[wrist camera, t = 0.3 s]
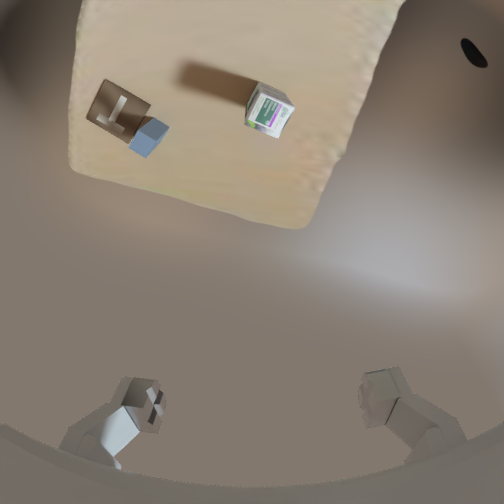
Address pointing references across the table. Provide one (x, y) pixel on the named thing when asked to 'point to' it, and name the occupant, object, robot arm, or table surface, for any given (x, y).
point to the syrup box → (268, 110)
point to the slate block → (148, 137)
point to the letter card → (118, 111)
